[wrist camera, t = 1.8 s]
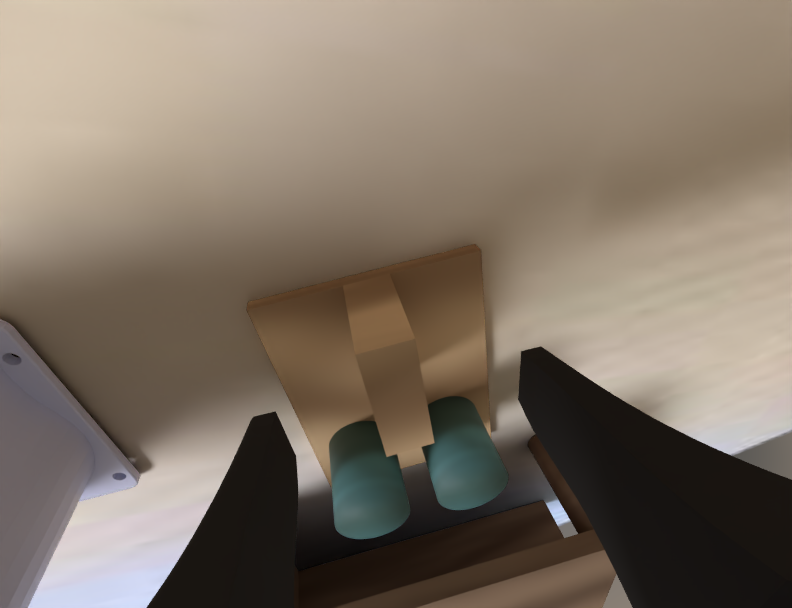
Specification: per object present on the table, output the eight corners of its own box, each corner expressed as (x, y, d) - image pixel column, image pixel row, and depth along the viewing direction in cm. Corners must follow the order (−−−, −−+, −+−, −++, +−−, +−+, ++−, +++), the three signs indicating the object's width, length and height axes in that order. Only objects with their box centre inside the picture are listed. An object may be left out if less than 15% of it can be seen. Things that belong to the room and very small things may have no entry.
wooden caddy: (247, 512, 22) (230, 664, 16) (554, 429, 23) (629, 542, 18) (290, 578, 26) (289, 713, 21) (542, 505, 28) (600, 612, 23)
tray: (249, 295, 15) (230, 387, 11) (471, 240, 16) (531, 307, 12) (330, 472, 22) (337, 570, 18) (484, 428, 23) (524, 512, 19)
